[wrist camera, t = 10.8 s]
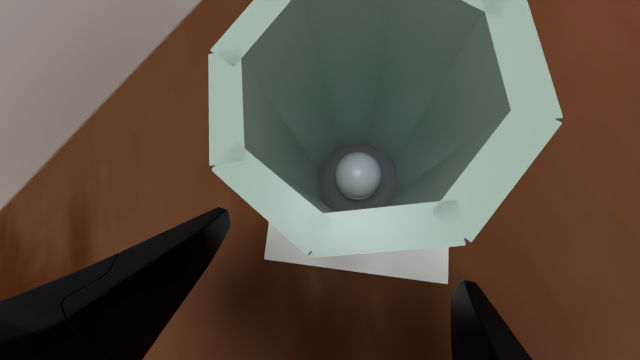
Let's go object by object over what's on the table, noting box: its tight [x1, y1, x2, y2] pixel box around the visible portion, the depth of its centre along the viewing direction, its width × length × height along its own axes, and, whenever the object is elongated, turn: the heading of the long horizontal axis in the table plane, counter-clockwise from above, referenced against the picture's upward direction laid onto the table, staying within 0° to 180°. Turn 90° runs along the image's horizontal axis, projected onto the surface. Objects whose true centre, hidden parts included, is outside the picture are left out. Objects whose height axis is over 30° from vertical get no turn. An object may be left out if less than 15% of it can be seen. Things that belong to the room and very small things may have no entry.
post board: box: [264, 143, 449, 284], centre depth 16 cm, size 12×12×5 cm
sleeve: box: [209, 0, 563, 258], centre depth 11 cm, size 7×7×12 cm
